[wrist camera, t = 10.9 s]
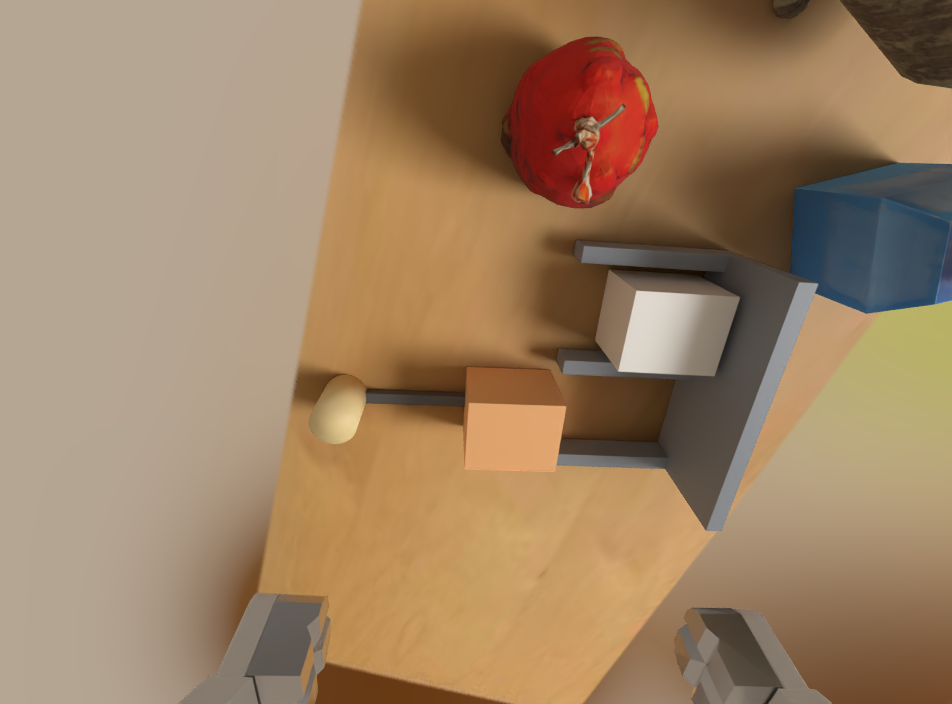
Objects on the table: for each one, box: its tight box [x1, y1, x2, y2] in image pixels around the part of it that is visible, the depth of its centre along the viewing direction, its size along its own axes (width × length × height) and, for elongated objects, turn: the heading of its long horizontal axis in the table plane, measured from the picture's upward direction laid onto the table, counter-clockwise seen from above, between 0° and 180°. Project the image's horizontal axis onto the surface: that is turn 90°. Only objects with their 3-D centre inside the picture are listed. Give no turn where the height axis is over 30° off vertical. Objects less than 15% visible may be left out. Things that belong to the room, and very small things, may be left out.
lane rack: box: [556, 240, 818, 531], centre depth 28 cm, size 16×10×8 cm, turn 176°
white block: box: [595, 269, 740, 376], centre depth 28 cm, size 5×6×5 cm
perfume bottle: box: [790, 163, 952, 314], centre depth 23 cm, size 6×6×12 cm
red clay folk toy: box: [501, 37, 658, 208], centre depth 19 cm, size 8×7×15 cm
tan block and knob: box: [309, 367, 566, 472], centre depth 30 cm, size 5×16×5 cm, turn 86°
